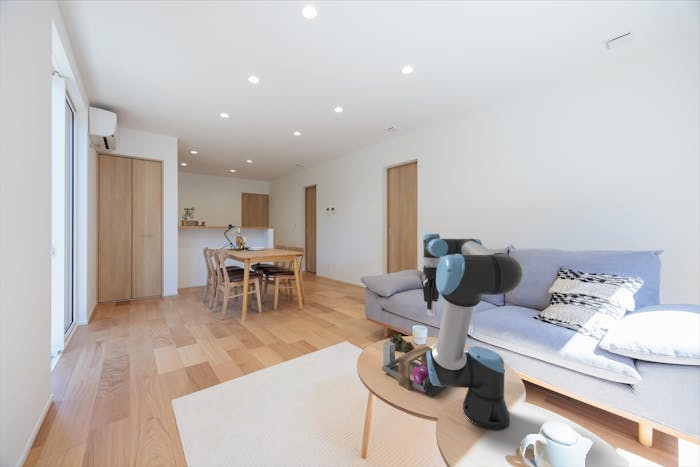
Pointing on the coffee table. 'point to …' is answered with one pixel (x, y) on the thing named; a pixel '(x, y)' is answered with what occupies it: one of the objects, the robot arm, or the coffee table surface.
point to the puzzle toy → (420, 374)
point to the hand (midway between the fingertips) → (431, 315)
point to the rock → (401, 343)
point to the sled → (390, 362)
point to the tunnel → (405, 364)
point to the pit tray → (434, 390)
